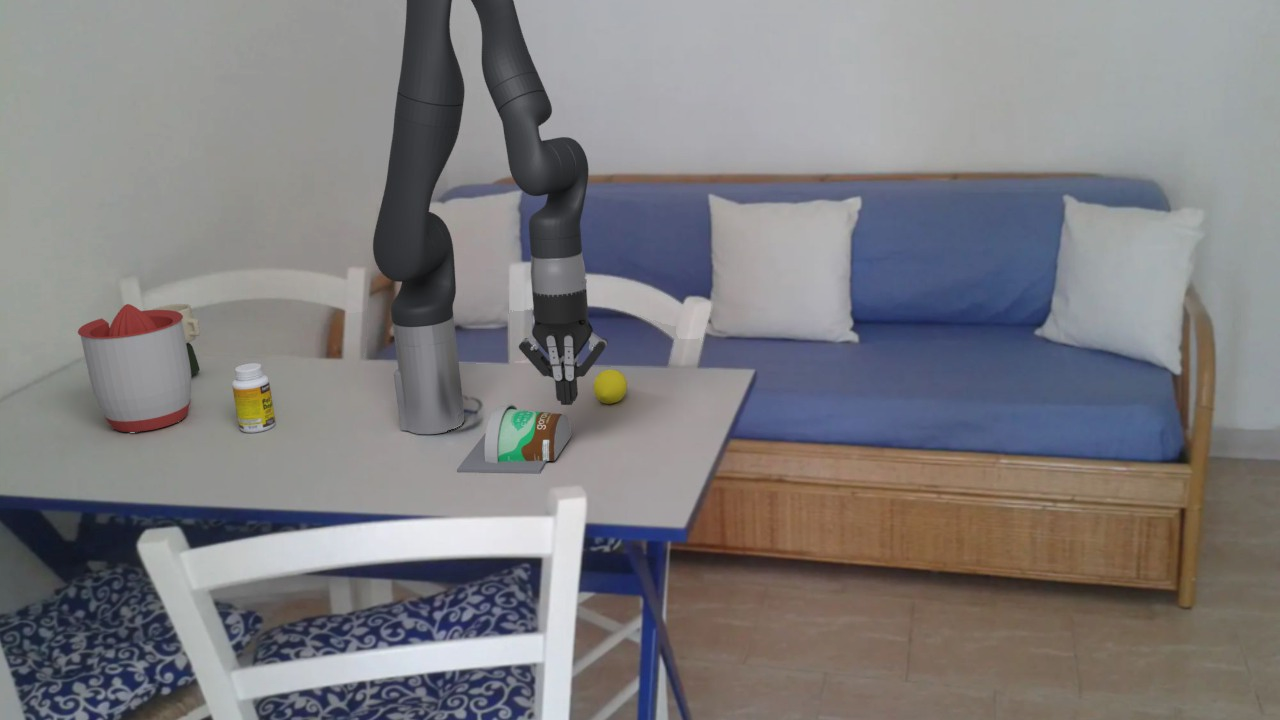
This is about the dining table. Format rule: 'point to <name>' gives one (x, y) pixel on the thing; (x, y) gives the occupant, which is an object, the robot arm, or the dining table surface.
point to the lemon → (610, 386)
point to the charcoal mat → (478, 464)
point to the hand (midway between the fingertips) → (567, 403)
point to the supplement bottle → (253, 399)
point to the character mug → (187, 330)
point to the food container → (525, 435)
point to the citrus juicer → (139, 368)
